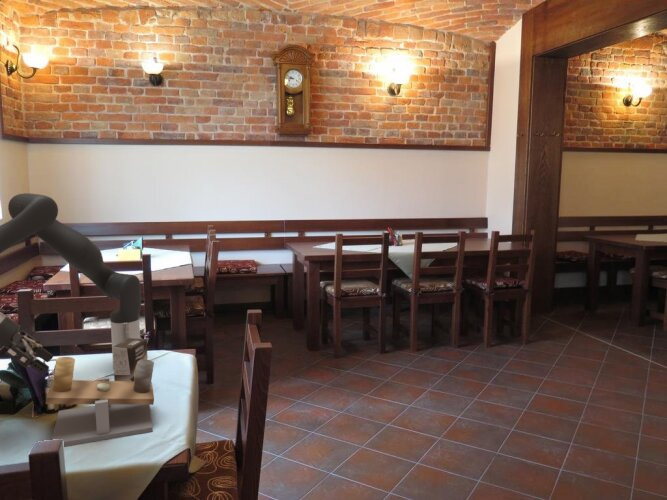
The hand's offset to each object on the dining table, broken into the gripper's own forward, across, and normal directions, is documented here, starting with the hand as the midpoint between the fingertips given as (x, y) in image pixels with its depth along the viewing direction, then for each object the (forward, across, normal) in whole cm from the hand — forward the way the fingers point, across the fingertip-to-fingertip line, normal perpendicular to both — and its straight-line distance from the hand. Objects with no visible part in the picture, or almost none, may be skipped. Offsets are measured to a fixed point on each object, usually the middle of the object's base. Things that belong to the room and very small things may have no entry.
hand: (48, 364), depth 136 cm
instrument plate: (+15, 0, -2) cm, 16 cm away
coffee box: (+27, +18, -1) cm, 33 cm away
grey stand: (+22, 0, +4) cm, 22 cm away
